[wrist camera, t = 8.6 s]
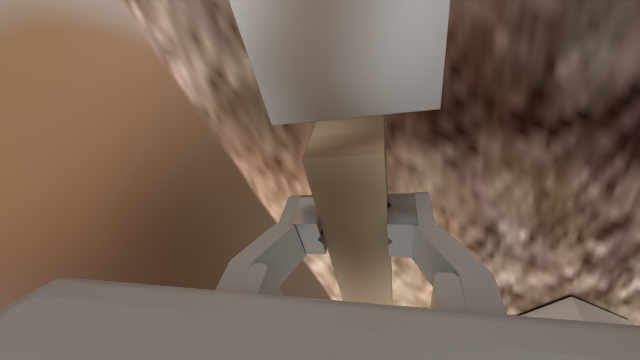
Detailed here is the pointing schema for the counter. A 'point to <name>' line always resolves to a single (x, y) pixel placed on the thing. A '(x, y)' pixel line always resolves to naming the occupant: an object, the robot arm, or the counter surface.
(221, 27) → the counter surface
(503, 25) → the counter surface
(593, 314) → the milk carton
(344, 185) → the turner
